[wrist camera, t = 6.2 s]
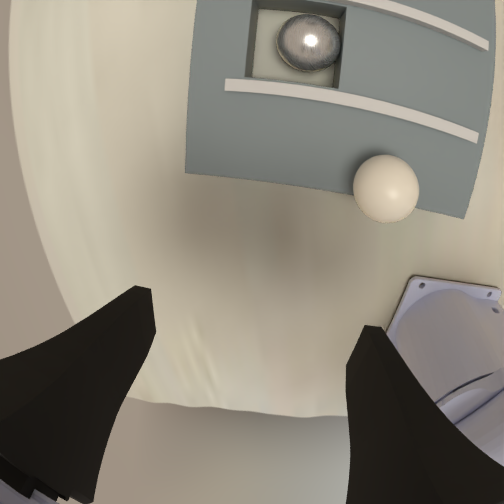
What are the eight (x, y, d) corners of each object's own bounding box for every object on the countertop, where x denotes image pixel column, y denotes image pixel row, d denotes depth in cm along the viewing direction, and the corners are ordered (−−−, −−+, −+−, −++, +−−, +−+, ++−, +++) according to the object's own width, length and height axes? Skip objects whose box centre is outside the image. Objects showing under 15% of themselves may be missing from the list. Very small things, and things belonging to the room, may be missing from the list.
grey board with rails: (474, -5, 9) (499, -15, 6) (447, 203, 17) (468, 224, 14) (219, -59, 10) (206, -81, 8) (198, 162, 18) (180, 176, 15)
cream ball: (412, 156, 14) (437, 172, 11) (398, 213, 15) (417, 240, 12) (354, 143, 14) (368, 155, 11) (343, 202, 15) (352, 228, 13)
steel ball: (301, 23, 13) (353, 25, 12) (296, 72, 15) (347, 79, 13) (266, 8, 11) (324, 6, 10) (260, 65, 13) (317, 69, 11)
